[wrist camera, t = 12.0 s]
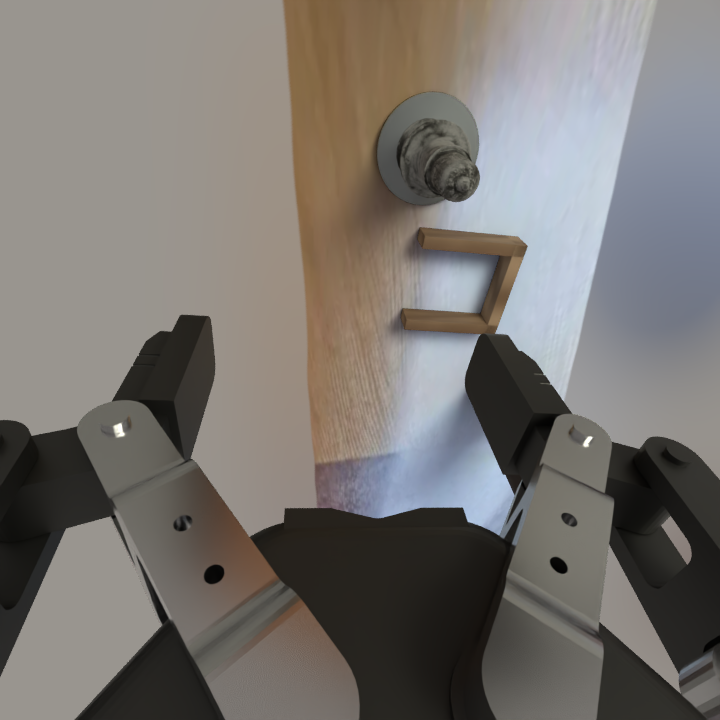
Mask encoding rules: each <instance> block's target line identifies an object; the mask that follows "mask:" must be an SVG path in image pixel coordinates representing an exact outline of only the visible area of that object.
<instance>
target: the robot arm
mask: <svg viewBox="0 0 720 720" xmlns="http://www.w3.org/2000/svg"><path fill="white" fill-rule="evenodd" d="M214 375H215V356H214V345H213V335H212V325H211V319H210V317H209V316H195V315H180V317H179V319H178V321H177V323H176V325H175V327H174V329H173V331H172V332H167V331H160V332H158V333H157V334H156V335H154V336H153V337H151V338H150V339H149V340H147V341H146V342H145V344H144V346H143V348H142V349H141V351H140V353H139V356H137V358H136V360H135V362H134V364H133V366H132V367H131V369H130V371H129V372H128V374H127V376H126V377H125V379H124V381H123V383H122V385H121V386H120V388H119V390H118V391H117V393H116V395H115V397H114V398H113V400H112V402H109V403H106V404H103V405H100V406H98V407H96V408H94V409H92V410H91V411H90V412H88V413H87V414H86V415H85V416H84V417H83V418H82V419H81V421H80V422H79V424H78V426H77V427H74V428H70V429H66V430H61V431H55V432H50V433H45V434H39V435H35V436H31V434H30V432H29V429H28V428H27V427H26V426H25V425H24V424H22V423H19V422H17V421H11V420H0V676H1V674H2V672H3V669H4V667H5V665H6V663H7V660H8V658H9V656H10V653H11V651H12V649H13V647H14V645H15V642H16V640H17V637H18V635H19V633H20V631H21V629H22V626H23V624H24V622H25V620H26V617H27V615H28V613H29V611H30V608H31V606H32V604H33V602H34V599H35V597H36V595H37V593H38V590H39V588H40V586H41V584H42V581H43V579H44V577H45V574H46V572H47V570H48V567H49V565H50V563H51V561H52V558H53V556H54V554H55V552H56V550H57V547H58V545H59V543H60V540H61V538H62V536H63V534H64V531H65V529H66V528H69V527H73V526H77V525H80V524H84V523H88V522H91V521H95V520H99V519H102V518H106V517H110V518H111V520H112V522H113V525H114V527H115V529H116V531H117V533H118V535H119V537H120V539H121V541H122V543H123V545H124V547H125V549H126V551H127V554H128V556H129V558H130V560H131V562H132V564H133V566H134V568H135V570H136V572H137V574H138V577H139V579H140V581H141V583H142V586H143V588H144V590H145V592H146V595H147V597H148V600H149V602H150V604H151V606H152V608H153V611H154V613H155V615H156V617H157V619H158V621H159V623H160V625H161V627H160V628H159V629H158V631H156V633H155V634H154V635H153V636H152V637H151V638H150V639H149V640H148V641H147V642H146V643H145V644H144V646H143V647H142V648H141V649H140V650H139V651H138V652H137V653H136V654H135V655H134V656H133V657H132V659H131V660H130V661H129V662H128V663H127V664H126V665H125V666H124V667H123V668H122V669H121V670H120V671H119V672H118V674H117V675H116V676H115V677H114V678H113V679H112V680H111V681H110V682H109V683H108V684H107V685H106V687H105V688H104V689H103V690H102V691H101V692H100V693H99V694H98V695H97V696H96V697H95V698H94V699H93V701H92V702H91V703H90V704H89V705H88V706H87V707H86V708H85V709H84V710H83V711H82V712H81V713H80V715H79V716H78V717H77V718H76V719H75V720H720V480H719V478H718V477H717V476H716V475H715V474H714V473H713V472H712V471H711V469H710V468H709V467H708V466H707V465H706V464H705V463H704V461H703V460H702V459H701V458H700V457H699V456H698V455H697V454H696V453H694V452H693V451H692V450H690V449H689V448H688V447H686V446H684V445H682V444H681V443H679V442H676V441H674V440H671V439H668V438H664V437H651V438H649V439H647V440H646V441H645V443H644V444H643V445H642V447H641V448H640V449H637V448H633V447H629V446H626V445H622V444H618V443H614V442H612V441H611V439H610V437H609V435H608V434H607V433H606V431H605V430H604V429H602V427H600V426H599V425H598V424H596V423H595V422H593V421H591V420H589V419H587V418H585V417H582V416H579V415H575V414H572V413H571V411H570V410H569V409H568V407H567V406H566V404H565V403H564V401H563V400H562V399H561V397H560V396H559V394H558V393H557V392H556V390H555V389H554V387H553V386H552V385H550V382H549V380H548V379H547V377H546V376H545V375H543V372H542V370H541V369H540V367H539V366H538V365H537V363H536V362H535V361H534V360H533V359H531V358H530V357H529V356H527V355H526V354H525V353H524V352H522V351H518V349H517V348H516V346H515V345H514V343H513V342H512V340H511V339H510V337H509V336H508V335H504V334H487V333H483V334H481V335H480V336H479V338H478V340H477V343H476V346H475V349H474V352H473V355H472V357H471V360H470V363H469V366H468V369H467V372H466V376H465V388H466V392H467V395H468V397H469V399H470V401H471V404H472V406H473V408H474V410H475V413H476V415H477V417H478V419H479V422H480V424H481V426H482V428H483V431H484V433H485V435H486V437H487V440H488V442H489V444H490V446H491V449H492V451H493V453H494V455H495V458H496V460H497V462H498V464H499V467H500V469H501V471H502V473H503V475H520V477H521V479H522V481H521V482H520V484H519V486H518V488H517V491H516V493H515V496H514V498H513V501H512V504H511V506H510V509H509V511H508V514H507V517H506V519H505V522H504V525H503V527H502V530H501V532H500V535H497V534H495V533H494V532H492V531H490V530H488V529H486V528H483V527H481V526H478V525H475V524H473V523H469V522H467V519H466V516H465V513H464V509H463V508H419V509H415V510H411V511H407V512H403V513H400V514H396V515H392V516H388V517H384V518H371V517H367V516H362V515H358V514H354V513H349V512H345V511H341V510H336V509H332V508H290V509H289V508H287V509H285V515H284V523H281V524H277V525H274V526H271V527H269V528H266V529H263V530H262V531H260V532H258V533H256V534H254V535H252V536H251V537H249V536H248V534H247V533H246V531H245V530H244V529H243V527H242V526H241V525H240V523H239V522H238V520H237V519H236V517H235V516H234V515H233V513H232V512H231V510H230V509H229V508H228V506H227V505H226V503H225V502H224V501H223V499H222V498H221V496H220V495H219V494H218V492H217V491H216V489H215V488H214V487H213V485H212V484H211V483H210V481H209V480H208V478H207V477H206V475H205V474H204V473H203V471H202V470H201V468H200V467H199V466H198V464H197V463H196V462H195V461H194V460H193V459H190V458H191V455H192V452H193V448H194V444H195V442H196V438H197V435H198V432H199V428H200V425H201V422H202V418H203V415H204V411H205V408H206V405H207V401H208V397H209V395H210V391H211V388H212V384H213V381H214ZM670 516H671V517H672V518H673V520H674V521H675V522H676V524H677V525H678V527H679V528H680V530H681V531H682V533H683V534H684V535H685V537H686V538H687V540H688V542H689V544H690V546H691V551H692V557H691V561H690V562H689V564H688V565H687V564H686V562H685V561H684V559H683V558H682V556H681V555H680V553H679V552H678V551H677V549H676V547H675V546H674V544H673V543H672V541H671V540H670V538H669V537H668V535H667V534H666V532H665V531H664V529H663V528H662V527H661V525H662V524H663V523H664V522H665V521H666V520H667V519H668V518H669V517H670ZM609 545H610V546H611V548H612V550H613V552H614V554H615V556H616V558H617V559H618V561H619V563H620V565H621V567H622V569H623V571H624V573H625V574H626V576H627V578H628V580H629V582H630V584H631V585H632V587H633V589H634V591H635V593H636V595H637V597H638V599H639V601H640V602H641V604H642V606H643V608H644V610H645V612H646V614H647V615H648V617H649V619H650V621H651V623H652V625H653V627H654V628H655V630H656V632H657V634H658V636H659V638H660V640H661V641H662V643H663V645H664V647H665V649H666V651H667V653H668V655H669V656H670V658H671V660H672V662H673V664H674V665H675V668H676V669H677V671H678V673H679V687H680V692H681V694H680V693H679V692H678V691H677V690H676V689H674V688H673V687H672V686H671V685H670V684H669V683H668V682H667V681H666V680H664V679H663V678H662V677H661V676H660V675H659V674H658V673H656V672H655V671H654V670H653V669H652V668H651V667H650V666H649V665H647V664H646V663H645V662H644V661H643V660H642V659H641V658H640V657H638V656H637V655H636V654H635V653H634V652H633V651H632V650H631V649H629V648H628V647H627V646H626V645H625V644H624V643H623V642H621V641H620V640H619V639H618V638H617V637H616V636H615V635H614V634H612V633H611V632H610V631H609V630H608V629H606V627H605V626H603V625H602V624H601V623H600V622H599V619H600V611H601V603H602V595H603V588H604V579H605V572H606V564H607V556H608V548H609Z"/></svg>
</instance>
